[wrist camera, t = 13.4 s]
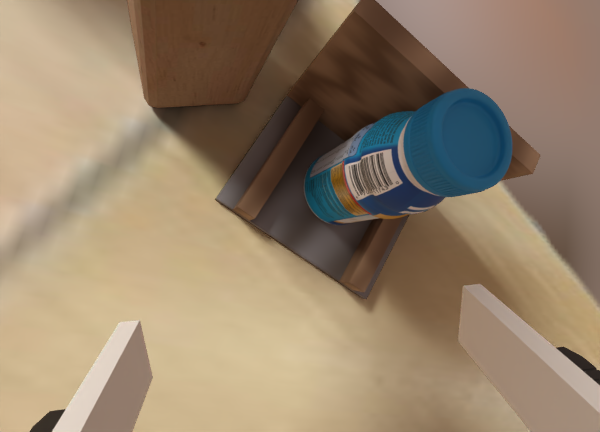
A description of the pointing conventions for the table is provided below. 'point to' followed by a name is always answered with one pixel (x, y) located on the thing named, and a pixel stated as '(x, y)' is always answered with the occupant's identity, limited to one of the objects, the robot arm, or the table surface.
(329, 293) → the table surface
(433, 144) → the beverage bottle
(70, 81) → the table surface
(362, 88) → the backstop holder
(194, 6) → the wooden block
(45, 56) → the table surface
